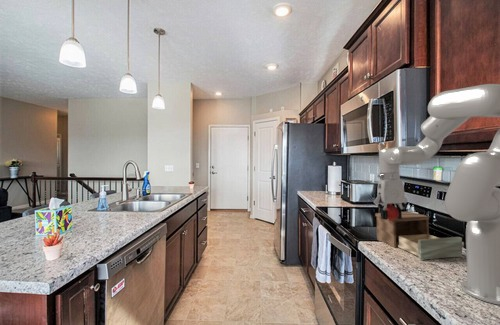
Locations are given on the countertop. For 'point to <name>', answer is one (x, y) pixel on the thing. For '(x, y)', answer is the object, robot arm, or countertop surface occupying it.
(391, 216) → the onion
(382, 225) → the cabinet
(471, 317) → the countertop surface
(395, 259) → the countertop surface
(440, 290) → the countertop surface
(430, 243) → the drawer
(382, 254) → the countertop surface
